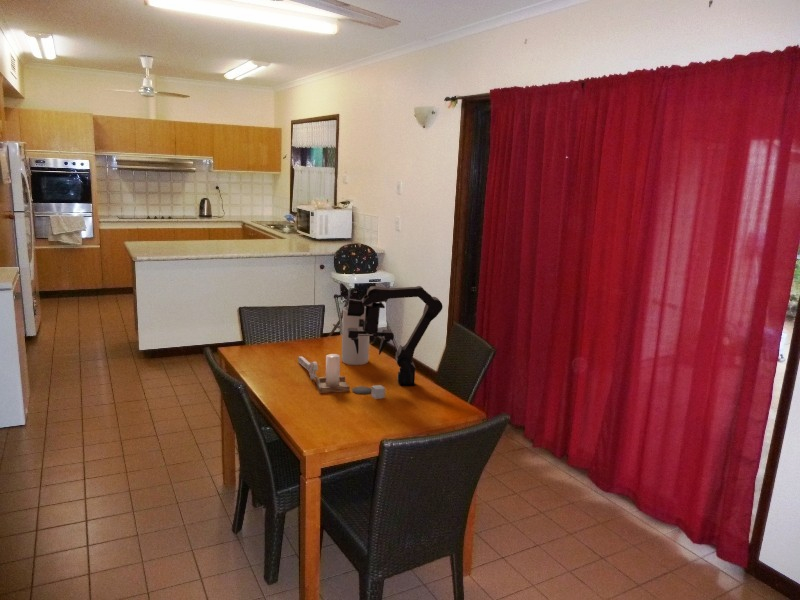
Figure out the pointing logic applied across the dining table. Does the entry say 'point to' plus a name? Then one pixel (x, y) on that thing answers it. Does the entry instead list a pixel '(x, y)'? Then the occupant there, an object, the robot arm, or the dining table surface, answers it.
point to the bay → (341, 388)
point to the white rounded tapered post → (332, 370)
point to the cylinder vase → (348, 345)
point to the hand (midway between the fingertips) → (368, 353)
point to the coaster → (362, 390)
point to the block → (378, 392)
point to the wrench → (309, 366)
